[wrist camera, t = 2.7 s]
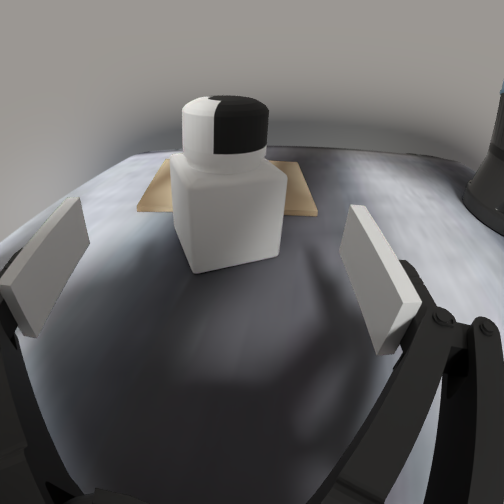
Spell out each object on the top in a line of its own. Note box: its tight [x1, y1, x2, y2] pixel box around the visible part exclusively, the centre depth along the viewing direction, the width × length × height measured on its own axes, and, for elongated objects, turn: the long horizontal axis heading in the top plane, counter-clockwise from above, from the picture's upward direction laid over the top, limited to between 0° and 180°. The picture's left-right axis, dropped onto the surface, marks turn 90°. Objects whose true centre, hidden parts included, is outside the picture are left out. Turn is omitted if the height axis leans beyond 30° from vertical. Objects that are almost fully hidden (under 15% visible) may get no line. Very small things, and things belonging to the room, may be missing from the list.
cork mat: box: [137, 159, 318, 216], centre depth 37 cm, size 18×14×1 cm
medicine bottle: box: [170, 96, 288, 274], centre depth 24 cm, size 7×7×12 cm
